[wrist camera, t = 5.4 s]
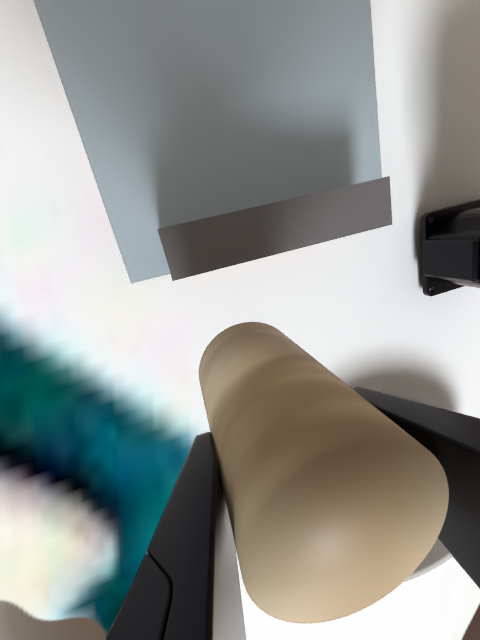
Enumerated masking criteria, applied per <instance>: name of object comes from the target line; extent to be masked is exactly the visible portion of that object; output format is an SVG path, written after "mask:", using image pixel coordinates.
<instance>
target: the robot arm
mask: <svg viewBox="0 0 480 640" xmlns="http://www.w3.org/2000/svg"><path fill="white" fill-rule="evenodd" d="M428 218H429V222H428ZM421 242H422V278H423V293H424V295H427V296H434V295H437V294H440V293H444V292H447V291H450V290H453V289H456V288H460V287H463V286H471V287H477V288H480V199H478V200H474V201H471V202H467V203H463V204H459V205H455V206H451V207H447V208H443V209H439V210H435V211H431V212H428V213H425V214H424V215H423V216H422V218H421ZM430 288H431V290H430ZM351 388H352V389H353V390H354V391H355V392H357V393H358V394H359V395H360V396H362V397H363V398H364V399H365V400H367V401H368V402H369V403H370V404H372V405H373V406H374V407H375V408H377V409H378V410H379V411H380V412H382V413H383V414H384V415H385V416H387V417H388V418H389V419H390V420H392V421H393V422H394V423H395V424H397V425H398V426H399V427H400V428H402V429H403V430H404V431H405V432H407V433H408V434H409V435H410V436H412V437H413V438H414V439H415V440H417V441H418V442H419V443H420V444H422V445H423V446H424V447H425V448H426V449H428V450H429V451H430V452H431V453H432V454H433V455H434V456H435V457H436V458H437V459H438V461H439V462H440V464H441V465H442V467H443V469H444V472H445V474H446V477H447V482H448V487H449V501H448V509H447V513H446V517H445V521H444V523H443V526H442V529H441V531H440V533H439V536H438V539H439V540H440V542H441V543H442V544H443V545H444V546H445V548H446V549H447V550H448V551H449V552H450V554H451V555H452V556H453V557H454V558H455V560H456V561H457V562H458V563H459V564H460V566H461V567H462V568H463V569H464V570H465V571H466V573H467V574H468V575H469V576H470V577H471V579H472V580H473V581H474V582H475V583H476V585H477V586H478V587H479V588H480V419H479V418H475V417H472V416H468V415H464V414H460V413H456V412H453V411H449V410H445V409H441V408H437V407H433V406H430V405H426V404H422V403H418V402H414V401H411V400H407V399H403V398H399V397H395V396H391V395H388V394H384V393H380V392H376V391H372V390H369V389H365V388H361V387H357V386H354V387H351ZM146 553H147V554H146V555H145V556H144V558H143V560H142V562H141V565H140V567H139V569H138V572H137V574H136V576H135V578H134V581H133V583H132V585H131V587H130V589H129V591H128V594H127V596H126V598H125V600H124V602H123V604H122V607H121V608H120V610H119V612H118V614H117V616H116V618H115V620H114V622H113V624H112V626H111V628H110V630H109V632H108V634H107V636H106V638H105V640H246V635H245V626H244V617H243V609H242V600H241V592H240V583H239V574H238V566H237V557H236V549H235V542H234V537H233V533H232V528H231V523H230V519H229V514H228V510H227V505H226V500H225V496H224V491H223V486H222V481H221V475H220V470H219V465H218V461H217V456H216V451H215V447H214V442H213V438H212V434H211V432H207V433H203V434H200V435H197V436H196V438H195V440H194V442H193V444H192V447H191V449H190V451H189V454H188V456H187V458H186V461H185V463H184V465H183V468H182V470H181V472H180V475H179V477H178V479H177V482H176V484H175V486H174V489H173V491H172V493H171V496H170V498H169V500H168V503H167V505H166V507H165V509H164V512H163V514H162V516H161V519H160V521H159V523H158V526H157V528H156V530H155V533H154V535H153V537H152V540H151V542H150V544H149V547H148V549H147V552H146Z"/></svg>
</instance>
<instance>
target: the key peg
mask: <svg viewBox="0 0 480 640" xmlns="http://www.w3.org/2000/svg"><path fill="white" fill-rule="evenodd" d="M199 380H200V386H201V390H202V395H203V399H204V404H205V409H206V413H207V418H208V422H209V427H210V432H211V434H212V438H213V442H214V447H215V451H216V456H217V461H218V465H219V470H220V475H221V481H222V486H223V491H224V496H225V500H226V505H227V510H228V514H229V519H230V523H231V528H232V533H233V537H234V542H235V546H236V551H237V555H238V560H239V565H240V569H241V574H242V578H243V583H244V585H245V588H246V591H247V593H248V594H249V596H250V598H251V599H252V601H253V602H254V603H255V604H256V605H257V606H258V607H259V608H260V609H261V610H263V611H264V612H265V613H267V614H268V615H270V616H273V617H275V618H277V619H280V620H283V621H287V622H293V623H320V622H326V621H331V620H335V619H339V618H342V617H345V616H348V615H350V614H353V613H355V612H358V611H360V610H362V609H364V608H366V607H368V606H370V605H372V604H373V603H375V602H377V601H378V600H380V599H382V598H383V597H385V596H386V595H387V594H389V593H390V592H391V591H393V590H394V589H395V588H397V587H398V586H399V585H400V584H401V583H402V582H404V581H405V580H406V579H407V578H408V577H409V576H410V575H411V574H412V573H413V572H414V571H415V569H416V568H417V567H418V566H419V565H420V564H421V562H422V561H423V560H424V558H425V557H426V556H427V554H428V553H429V552H430V550H431V548H432V547H433V545H434V543H435V542H436V540H437V538H438V536H439V533H440V531H441V529H442V526H443V523H444V521H445V517H446V513H447V509H448V501H449V487H448V482H447V477H446V474H445V472H444V469H443V467H442V465H441V464H440V462H439V461H438V459H437V458H436V457H435V456H434V455H433V454H432V453H431V452H430V451H429V450H428V449H426V448H425V447H424V446H423V445H422V444H420V443H419V442H418V441H417V440H415V439H414V438H413V437H412V436H410V435H409V434H408V433H407V432H405V431H404V430H403V429H402V428H400V427H399V426H398V425H397V424H395V423H394V422H393V421H392V420H390V419H389V418H388V417H387V416H385V415H384V414H383V413H382V412H380V411H379V410H378V409H377V408H375V407H374V406H373V405H372V404H370V403H369V402H368V401H367V400H365V399H364V398H363V397H362V396H360V395H359V394H358V393H357V392H355V391H354V390H353V389H352V388H350V387H349V386H348V385H347V384H345V383H344V382H343V381H342V380H340V379H339V378H338V377H337V376H335V375H334V374H333V373H332V372H330V371H329V370H328V369H327V368H325V367H324V366H323V365H322V364H320V363H319V362H318V361H317V360H315V359H314V358H313V357H312V356H310V355H309V354H308V353H307V352H305V351H304V350H303V349H302V348H300V347H299V346H298V345H297V344H296V343H294V342H293V341H292V340H291V339H289V338H288V337H287V336H286V335H284V334H283V333H282V332H280V331H279V330H278V329H276V328H274V327H273V326H270V325H268V324H264V323H260V322H246V323H240V324H237V325H234V326H232V327H229V328H227V329H226V330H224V331H222V332H221V333H220V334H218V335H217V336H216V337H215V338H214V339H213V340H212V341H211V342H210V344H209V345H208V346H207V348H206V350H205V351H204V353H203V356H202V358H201V362H200V366H199Z"/></svg>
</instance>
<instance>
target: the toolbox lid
mask: <svg viewBox="0 0 480 640" xmlns="http://www.w3.org/2000/svg"><path fill="white" fill-rule="evenodd" d="M34 3H35V6H36V9H37V12H38V14H39V17H40V20H41V23H42V26H43V29H44V32H45V35H46V38H47V41H48V44H49V46H50V49H51V52H52V55H53V58H54V61H55V64H56V67H57V70H58V73H59V75H60V78H61V81H62V84H63V87H64V90H65V93H66V96H67V99H68V102H69V104H70V107H71V110H72V113H73V116H74V119H75V122H76V125H77V128H78V131H79V133H80V136H81V139H82V142H83V145H84V148H85V151H86V154H87V157H88V160H89V163H90V165H91V168H92V171H93V174H94V177H95V180H96V183H97V186H98V189H99V192H100V194H101V197H102V200H103V203H104V206H105V209H106V212H107V215H108V218H109V221H110V223H111V226H112V229H113V232H114V235H115V238H116V241H117V244H118V247H119V250H120V252H121V255H122V258H123V261H124V264H125V267H126V270H127V273H128V276H129V279H130V282H131V283H135V282H139V281H143V280H147V279H151V278H155V277H159V276H163V275H167V274H170V273H171V277H172V280H173V281H174V280H178V279H182V278H186V277H189V276H193V275H197V274H201V273H205V272H209V271H213V270H217V269H221V268H224V267H228V266H232V265H236V264H240V263H244V262H248V261H252V260H255V259H259V258H263V257H267V256H271V255H275V254H279V253H283V252H286V251H290V250H294V249H298V248H302V247H306V246H310V245H314V244H318V243H321V242H325V241H329V240H333V239H337V238H341V237H345V236H349V235H352V234H356V233H360V232H364V231H368V230H372V229H376V228H380V227H384V226H387V225H391V224H392V213H391V195H390V178H389V176H388V177H384V178H382V175H381V160H380V145H379V129H378V114H377V99H376V83H375V68H374V53H373V37H372V22H371V7H370V0H34Z"/></svg>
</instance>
